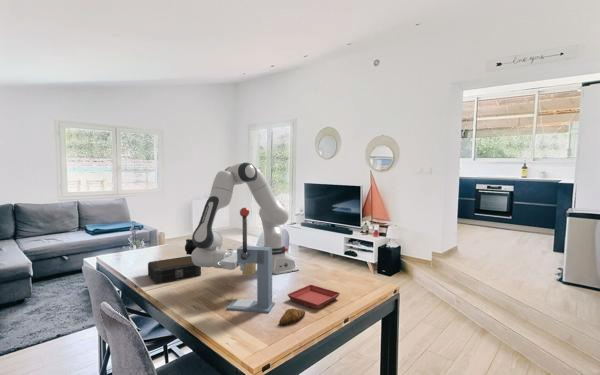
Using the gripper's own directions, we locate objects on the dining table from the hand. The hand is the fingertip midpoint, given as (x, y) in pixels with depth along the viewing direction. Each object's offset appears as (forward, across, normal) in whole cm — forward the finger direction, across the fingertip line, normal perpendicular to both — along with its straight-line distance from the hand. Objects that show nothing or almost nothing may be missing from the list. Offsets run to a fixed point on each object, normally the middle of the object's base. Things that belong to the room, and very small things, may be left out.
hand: (250, 261), depth 160 cm
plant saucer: (+31, -1, +17) cm, 35 cm away
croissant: (+25, -23, +17) cm, 38 cm away
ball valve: (-52, +46, +17) cm, 71 cm away
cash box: (-52, +19, +17) cm, 58 cm away
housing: (-1, 0, +6) cm, 6 cm away
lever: (+4, -18, -6) cm, 19 cm away
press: (+5, -13, +16) cm, 22 cm away
